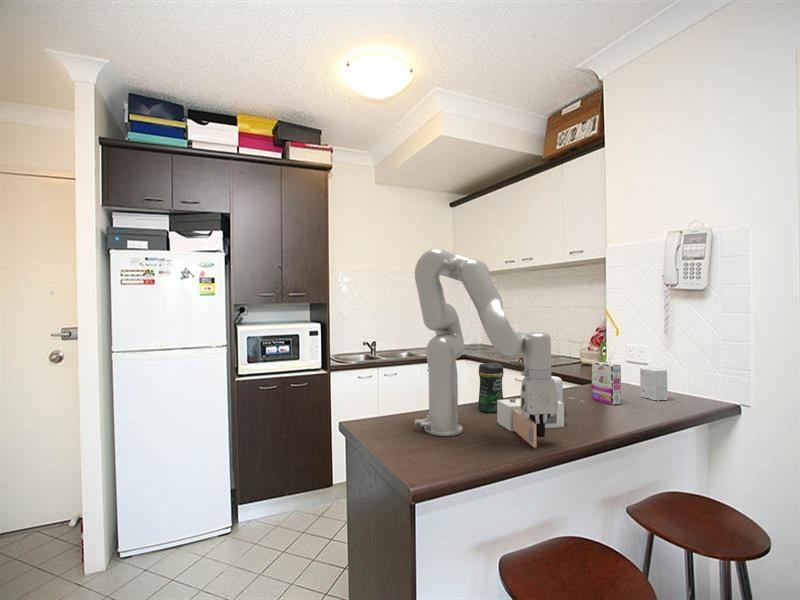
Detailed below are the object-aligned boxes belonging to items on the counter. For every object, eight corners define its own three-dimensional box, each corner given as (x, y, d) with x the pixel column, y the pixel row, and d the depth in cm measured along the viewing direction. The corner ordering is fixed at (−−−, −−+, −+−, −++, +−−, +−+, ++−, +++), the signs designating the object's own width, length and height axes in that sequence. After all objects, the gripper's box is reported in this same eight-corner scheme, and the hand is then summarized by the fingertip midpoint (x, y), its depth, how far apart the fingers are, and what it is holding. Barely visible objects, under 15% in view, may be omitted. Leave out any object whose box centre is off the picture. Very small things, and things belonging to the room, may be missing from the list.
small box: (668, 400, 164) (667, 370, 164) (655, 401, 162) (655, 370, 162) (651, 396, 172) (651, 367, 172) (640, 397, 170) (639, 367, 170)
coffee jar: (489, 414, 144) (488, 365, 145) (475, 409, 151) (474, 362, 151) (507, 410, 149) (507, 363, 149) (493, 406, 156) (492, 360, 156)
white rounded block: (555, 404, 159) (554, 374, 159) (564, 406, 155) (564, 375, 156) (539, 407, 153) (539, 377, 154) (548, 410, 150) (548, 378, 150)
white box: (510, 431, 125) (509, 403, 125) (497, 422, 134) (497, 397, 134) (569, 426, 129) (569, 399, 130) (553, 418, 138) (553, 393, 139)
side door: (509, 428, 125) (509, 408, 125) (514, 428, 125) (514, 408, 125) (531, 447, 108) (530, 424, 109) (536, 447, 109) (536, 424, 109)
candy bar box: (622, 404, 157) (621, 364, 158) (612, 405, 156) (612, 365, 156) (600, 398, 168) (599, 361, 168) (591, 399, 166) (590, 361, 167)
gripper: (521, 377, 109) (522, 442, 108) (568, 375, 112) (569, 438, 112) (508, 373, 116) (510, 433, 116) (552, 370, 119) (554, 430, 119)
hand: (539, 435), depth 114 cm, fingers closed
